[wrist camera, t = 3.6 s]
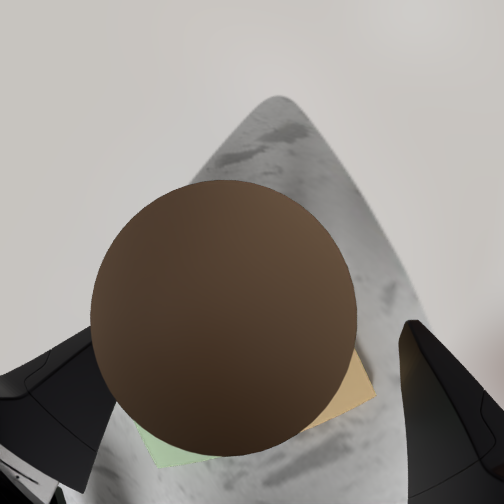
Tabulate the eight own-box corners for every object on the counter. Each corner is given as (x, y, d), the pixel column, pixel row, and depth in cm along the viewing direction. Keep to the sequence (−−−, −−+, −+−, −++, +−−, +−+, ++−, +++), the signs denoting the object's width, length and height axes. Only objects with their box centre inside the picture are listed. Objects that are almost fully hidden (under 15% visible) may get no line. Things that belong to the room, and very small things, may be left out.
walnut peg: (295, 274, 16) (254, 119, 4) (338, 337, 15) (440, 359, 3) (232, 315, 17) (56, 268, 4) (271, 379, 15) (162, 499, 3)
